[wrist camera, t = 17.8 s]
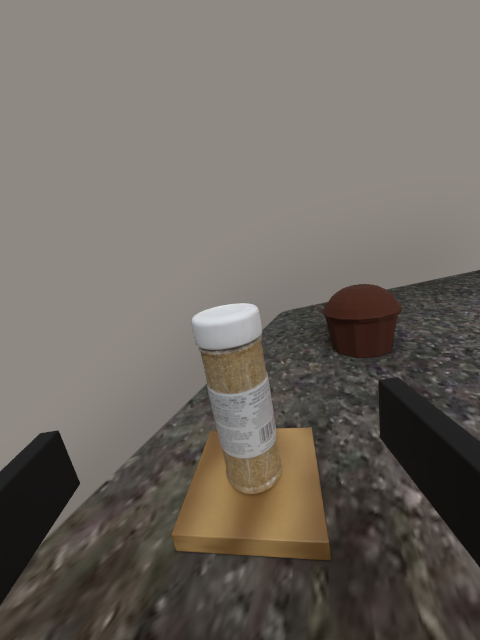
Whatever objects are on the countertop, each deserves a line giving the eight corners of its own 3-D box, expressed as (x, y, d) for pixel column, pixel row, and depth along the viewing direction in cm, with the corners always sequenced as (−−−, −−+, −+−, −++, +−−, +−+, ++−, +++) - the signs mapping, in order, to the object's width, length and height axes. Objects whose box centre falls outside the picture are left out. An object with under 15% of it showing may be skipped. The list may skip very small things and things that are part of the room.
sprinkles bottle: (254, 442, 24) (228, 300, 20) (294, 467, 21) (272, 302, 17) (214, 475, 21) (177, 317, 18) (254, 511, 18) (217, 324, 14)
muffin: (348, 330, 51) (345, 279, 48) (413, 340, 42) (414, 278, 40) (311, 352, 44) (305, 294, 41) (380, 369, 35) (378, 297, 33)
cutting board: (176, 551, 18) (170, 534, 17) (213, 442, 27) (210, 430, 27) (331, 561, 16) (329, 542, 15) (312, 440, 25) (311, 427, 25)
